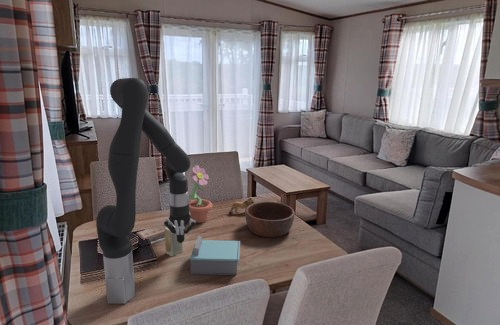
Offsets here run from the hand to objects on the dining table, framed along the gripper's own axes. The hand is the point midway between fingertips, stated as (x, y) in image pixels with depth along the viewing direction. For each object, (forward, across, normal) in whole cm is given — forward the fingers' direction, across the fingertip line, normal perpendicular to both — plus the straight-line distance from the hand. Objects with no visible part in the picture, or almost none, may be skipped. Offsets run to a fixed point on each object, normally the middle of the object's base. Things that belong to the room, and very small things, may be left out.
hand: (180, 241), depth 137 cm
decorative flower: (+11, +1, +42) cm, 43 cm away
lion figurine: (+11, +24, +53) cm, 60 cm away
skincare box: (+10, -5, +9) cm, 14 cm away
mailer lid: (+5, +14, 0) cm, 15 cm away
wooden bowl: (+11, +38, +33) cm, 52 cm away
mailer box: (+10, +14, 0) cm, 17 cm away
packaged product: (+11, -17, +22) cm, 29 cm away
